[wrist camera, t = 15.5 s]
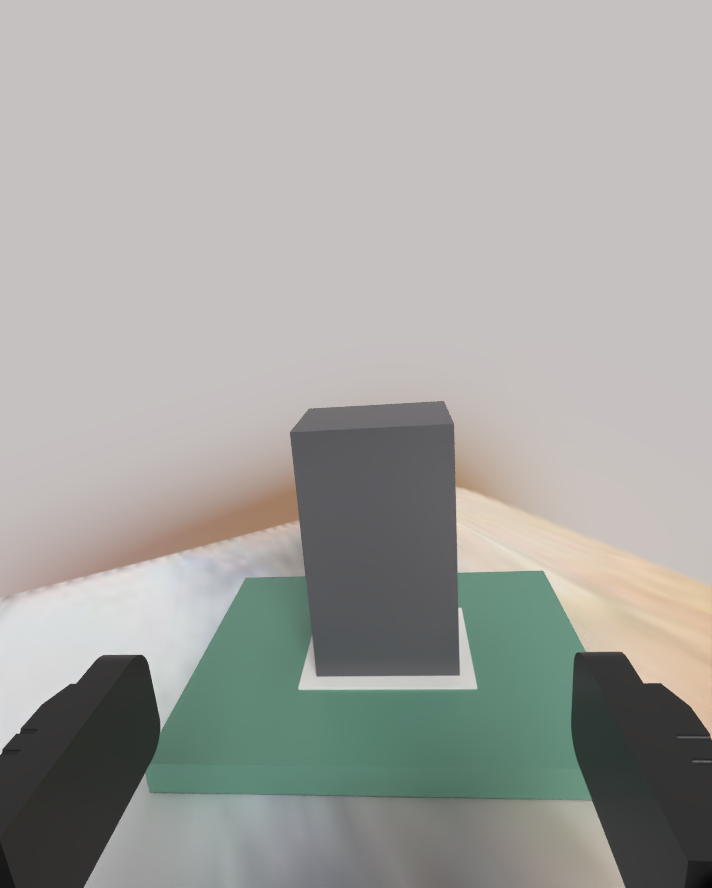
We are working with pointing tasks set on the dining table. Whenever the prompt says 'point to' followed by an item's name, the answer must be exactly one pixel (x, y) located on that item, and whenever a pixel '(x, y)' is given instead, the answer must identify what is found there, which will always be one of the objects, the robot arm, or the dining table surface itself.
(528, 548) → the dining table surface
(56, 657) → the dining table surface
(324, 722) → the pin board
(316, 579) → the block
